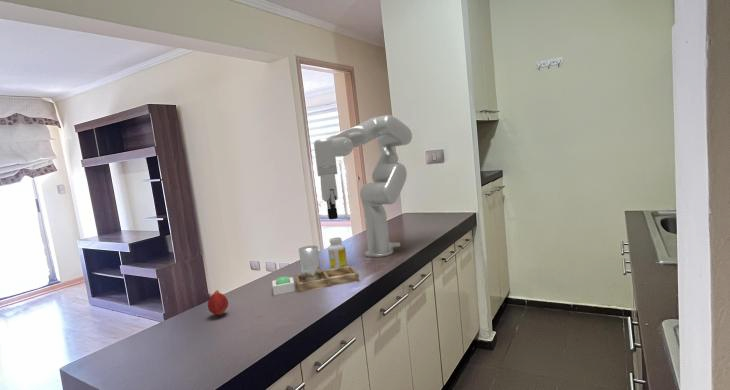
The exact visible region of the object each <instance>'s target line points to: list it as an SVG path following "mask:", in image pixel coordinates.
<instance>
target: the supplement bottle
mask: <svg viewBox="0 0 730 390" xmlns="http://www.w3.org/2000/svg"><path fill="white" fill-rule="evenodd" d="M342 241H343V240H342V237H340V236H339V237H333V238H332V237H331V238H329V244H330V245H329V246H328V247H327V251H328V258H329V259H328V260H329V267H330V269H336V268H341V267H347V266H348V260H347V252H346V246H345V245H344V244H343V243H342Z"/></svg>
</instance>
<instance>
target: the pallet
mask: <svg viewBox="0 0 730 390" xmlns="http://www.w3.org/2000/svg"><path fill="white" fill-rule="evenodd" d="M294 278H295V286H296V288H297V292H298V293H303V292H307V291H315V290H319V289H324V288H330V287H336V286H340V285H346V284H351V283H352V284H353V283H357V282H360V275H359V273H358V272H357V270H356V269H355V268H354V266H352V265H347V267H341V268H336V269H331V268H330V269H326V270H325V269H324V270H321V278H322V279H320V280H315V281H309V282H304V283H303V279H302V274H295V275H294Z"/></svg>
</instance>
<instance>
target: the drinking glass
mask: <svg viewBox="0 0 730 390" xmlns="http://www.w3.org/2000/svg"><path fill="white" fill-rule="evenodd" d="M298 255H299V263H300V270H301V275H302V279H303V283H304V282H309V281H315V280H320V279H322V278H321V271H322V270H321V263H320V262H321V261H320V255H319V246H318V245H305V246H302V247H300V248H298Z"/></svg>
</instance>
